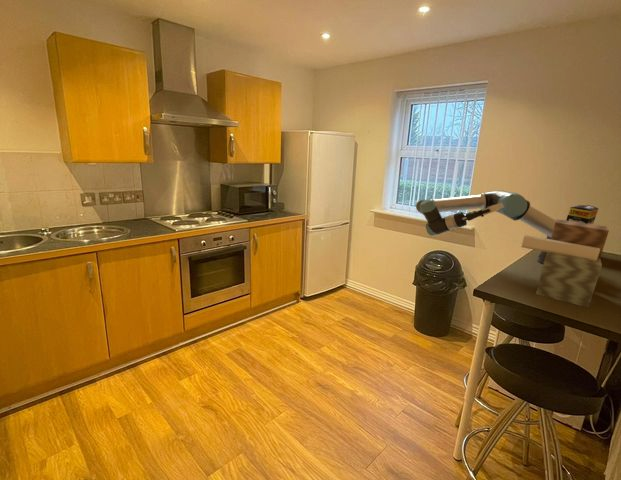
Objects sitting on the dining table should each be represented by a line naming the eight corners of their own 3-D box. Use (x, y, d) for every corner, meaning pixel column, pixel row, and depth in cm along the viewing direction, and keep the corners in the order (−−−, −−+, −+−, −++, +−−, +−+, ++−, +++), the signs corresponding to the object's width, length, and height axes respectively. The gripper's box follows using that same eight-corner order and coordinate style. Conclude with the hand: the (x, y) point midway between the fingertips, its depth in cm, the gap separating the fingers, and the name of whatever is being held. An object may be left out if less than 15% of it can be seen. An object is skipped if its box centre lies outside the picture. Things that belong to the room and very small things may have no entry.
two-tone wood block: (535, 293, 144) (553, 226, 136) (540, 278, 164) (556, 219, 156) (588, 307, 133) (611, 235, 126) (586, 289, 153) (606, 226, 146)
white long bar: (521, 247, 148) (524, 236, 147) (522, 245, 151) (525, 234, 150) (596, 261, 133) (600, 250, 132) (595, 259, 136) (599, 248, 135)
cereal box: (575, 260, 204) (592, 208, 195) (553, 254, 212) (569, 205, 203) (583, 254, 221) (600, 206, 212) (563, 249, 229) (578, 203, 220)
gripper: (465, 224, 182) (507, 211, 168) (451, 231, 162) (498, 216, 149) (460, 211, 182) (502, 197, 169) (446, 216, 163) (492, 200, 149)
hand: (500, 206), depth 159 cm, fingers open, 13 cm apart
